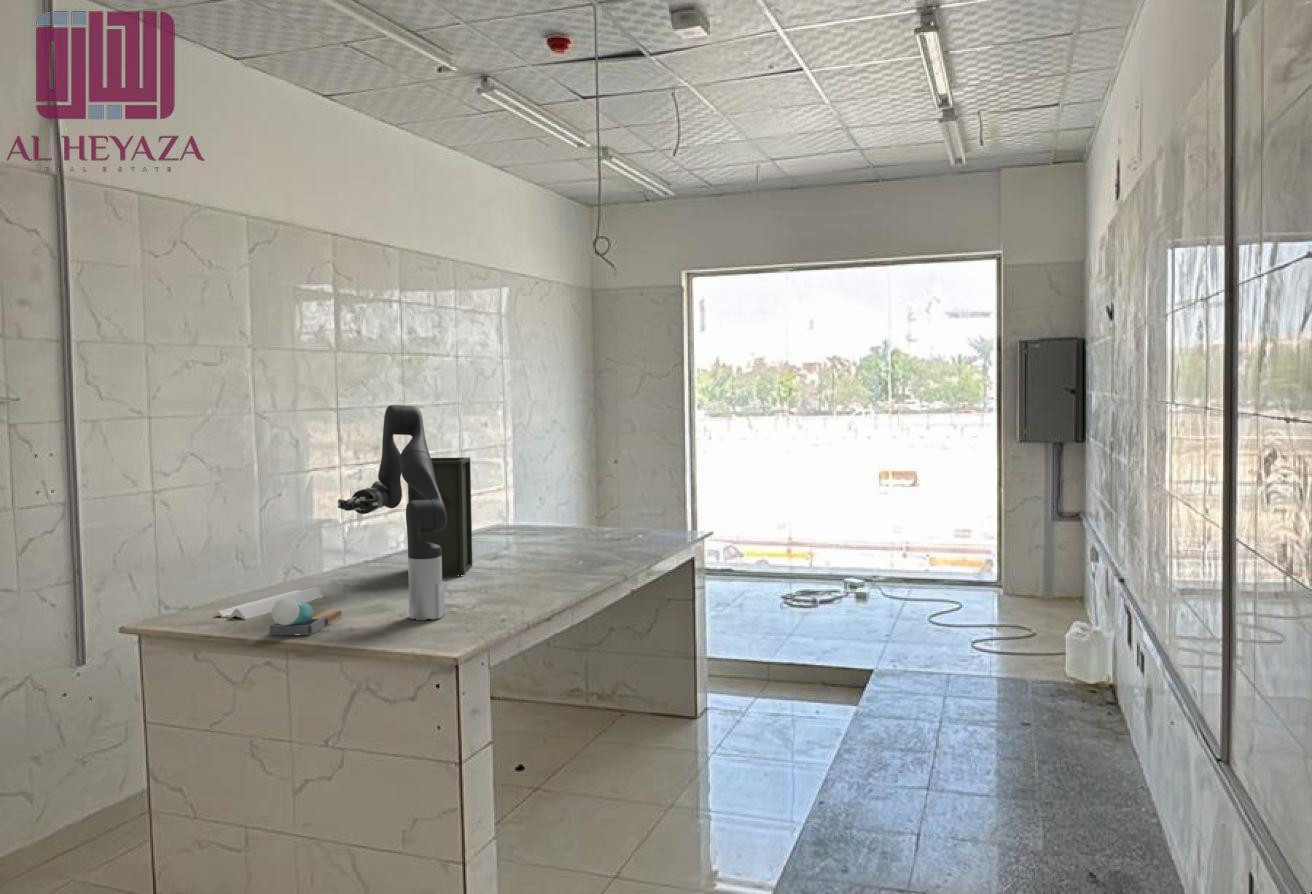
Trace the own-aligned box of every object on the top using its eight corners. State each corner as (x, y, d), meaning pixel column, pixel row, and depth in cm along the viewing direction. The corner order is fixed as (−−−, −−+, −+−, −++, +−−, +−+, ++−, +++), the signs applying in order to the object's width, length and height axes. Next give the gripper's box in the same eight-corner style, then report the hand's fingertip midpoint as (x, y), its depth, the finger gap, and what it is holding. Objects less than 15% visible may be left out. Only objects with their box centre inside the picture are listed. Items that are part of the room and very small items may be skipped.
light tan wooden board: (341, 617, 268) (341, 610, 268) (327, 626, 258) (327, 619, 258) (299, 617, 269) (299, 610, 269) (284, 626, 259) (284, 618, 259)
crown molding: (295, 597, 300) (295, 585, 299) (325, 600, 295) (325, 588, 295) (215, 618, 271) (215, 606, 271) (247, 622, 266) (247, 609, 266)
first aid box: (472, 566, 346) (470, 457, 344) (463, 576, 328) (461, 461, 325) (421, 567, 346) (419, 457, 343) (410, 577, 327) (407, 461, 325)
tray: (325, 626, 258) (325, 616, 258) (311, 635, 248) (310, 625, 248) (286, 626, 259) (286, 616, 259) (269, 635, 249) (269, 625, 249)
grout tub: (315, 601, 257) (299, 598, 247) (312, 627, 256) (296, 625, 245) (290, 601, 258) (273, 598, 247) (287, 627, 256) (270, 624, 245)
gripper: (346, 488, 296) (324, 494, 279) (388, 488, 295) (369, 494, 278) (347, 512, 296) (325, 519, 279) (389, 512, 296) (369, 519, 279)
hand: (347, 507), depth 279 cm, fingers closed
